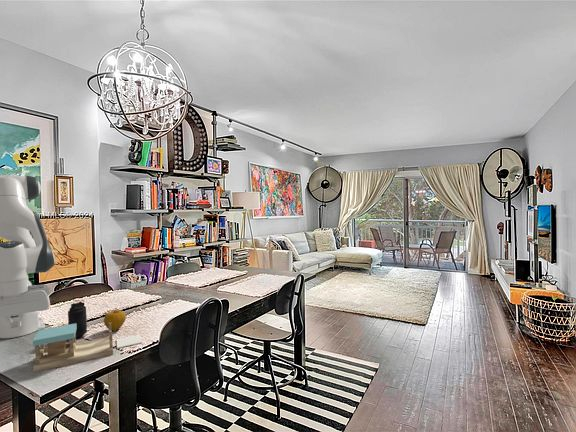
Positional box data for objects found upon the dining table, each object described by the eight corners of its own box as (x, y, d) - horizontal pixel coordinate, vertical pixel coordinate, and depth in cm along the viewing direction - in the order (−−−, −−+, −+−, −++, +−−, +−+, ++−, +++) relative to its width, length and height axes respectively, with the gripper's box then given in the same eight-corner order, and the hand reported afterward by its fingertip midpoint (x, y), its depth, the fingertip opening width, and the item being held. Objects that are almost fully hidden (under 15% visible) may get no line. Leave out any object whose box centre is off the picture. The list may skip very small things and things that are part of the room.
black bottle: (78, 340, 136) (76, 305, 135) (65, 339, 137) (63, 304, 137) (91, 333, 143) (90, 300, 142) (79, 332, 144) (77, 299, 144)
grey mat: (116, 340, 135) (116, 339, 134) (139, 335, 139) (139, 334, 139) (117, 348, 127) (117, 347, 127) (142, 343, 131) (141, 342, 131)
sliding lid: (38, 335, 121) (38, 330, 120) (76, 328, 127) (76, 323, 126) (33, 346, 111) (32, 340, 111) (74, 338, 117) (74, 332, 117)
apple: (121, 333, 142) (120, 313, 142) (100, 334, 141) (99, 314, 141) (129, 325, 151) (128, 306, 151) (109, 326, 150) (108, 307, 150)
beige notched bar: (40, 356, 122) (39, 334, 122) (112, 340, 134) (111, 321, 134) (33, 372, 110) (32, 348, 110) (113, 354, 122) (112, 332, 122)
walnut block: (50, 353, 120) (49, 337, 120) (66, 349, 122) (65, 334, 122) (48, 358, 116) (47, 342, 115) (64, 355, 118) (63, 339, 118)
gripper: (50, 281, 120) (53, 318, 120) (-24, 290, 110) (-21, 330, 110) (48, 285, 114) (50, 323, 115) (-30, 295, 104) (-27, 336, 105)
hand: (15, 327), depth 112 cm, fingers closed
